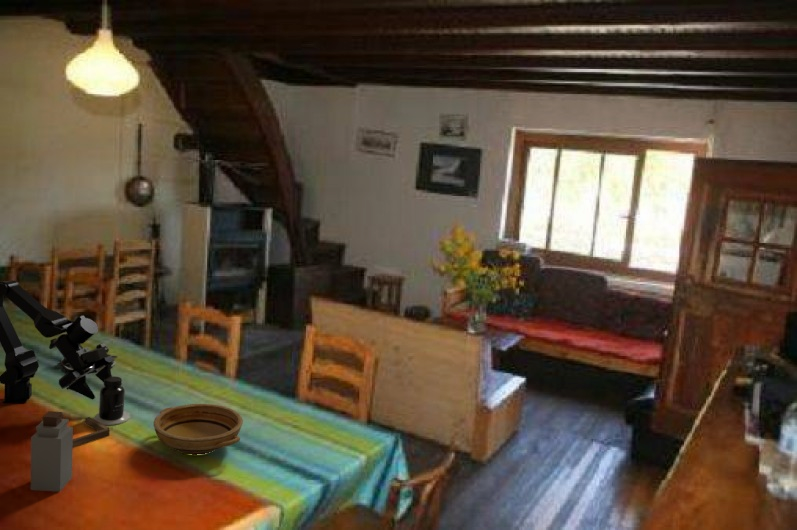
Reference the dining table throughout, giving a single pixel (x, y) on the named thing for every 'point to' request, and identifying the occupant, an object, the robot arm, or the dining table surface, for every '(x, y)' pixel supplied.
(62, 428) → the perfume bottle
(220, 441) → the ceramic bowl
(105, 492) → the dining table surface
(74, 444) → the wooden u-shaped frame
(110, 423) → the coaster
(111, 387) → the supplement bottle
